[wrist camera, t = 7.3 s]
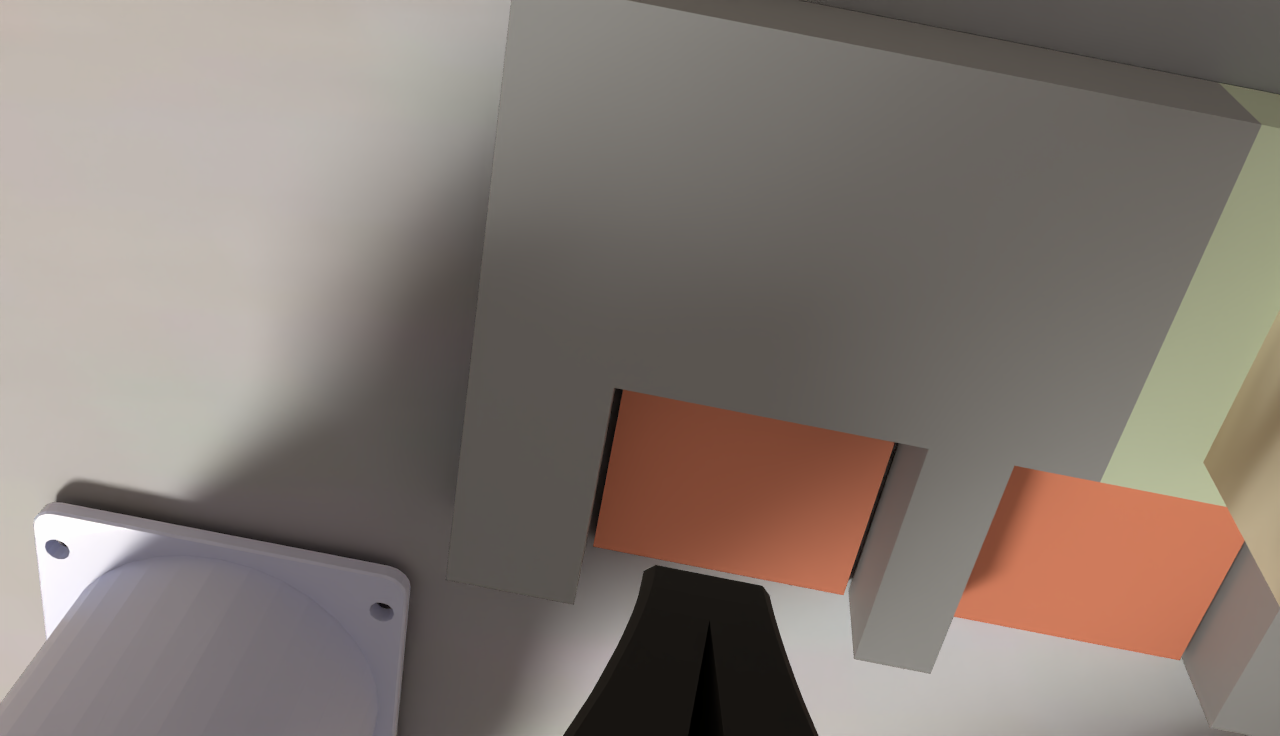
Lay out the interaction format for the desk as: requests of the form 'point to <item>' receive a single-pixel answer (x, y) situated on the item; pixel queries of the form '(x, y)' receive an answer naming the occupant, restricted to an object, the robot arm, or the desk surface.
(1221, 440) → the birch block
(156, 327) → the desk surface
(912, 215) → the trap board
